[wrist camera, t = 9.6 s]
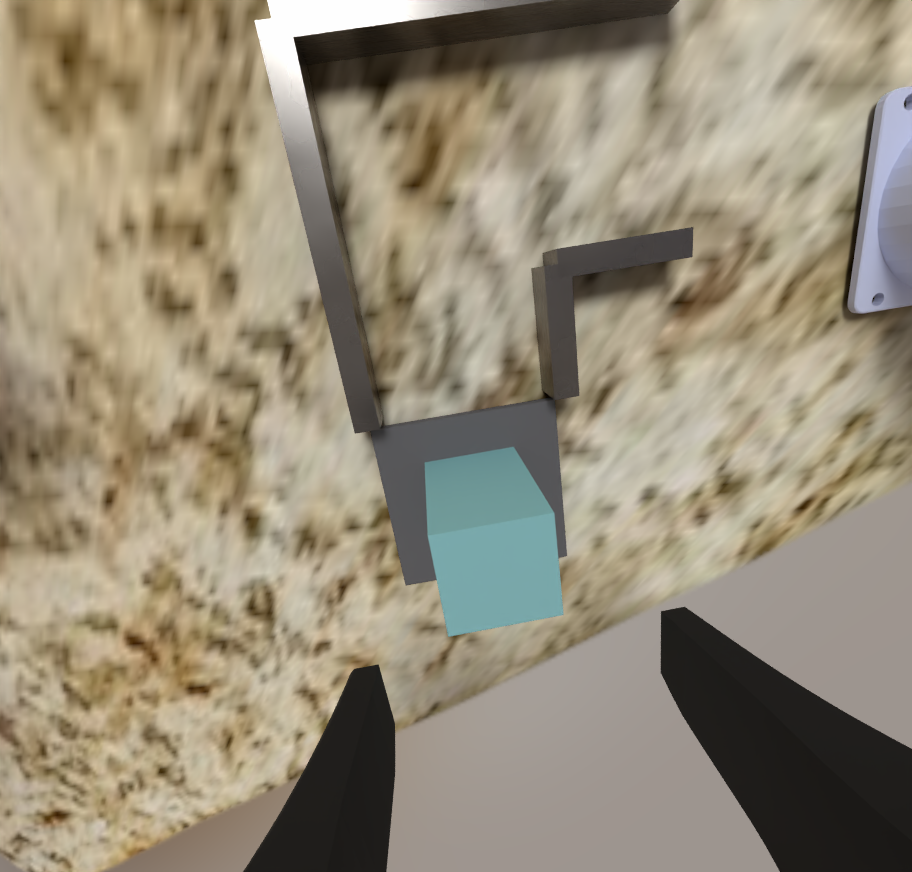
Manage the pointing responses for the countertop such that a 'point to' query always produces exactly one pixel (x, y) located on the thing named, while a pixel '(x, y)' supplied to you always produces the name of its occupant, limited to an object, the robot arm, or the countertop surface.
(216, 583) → the countertop surface
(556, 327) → the rail
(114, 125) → the countertop surface
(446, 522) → the teal block
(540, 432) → the rubber pad
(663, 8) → the outer rail
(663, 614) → the robot arm
